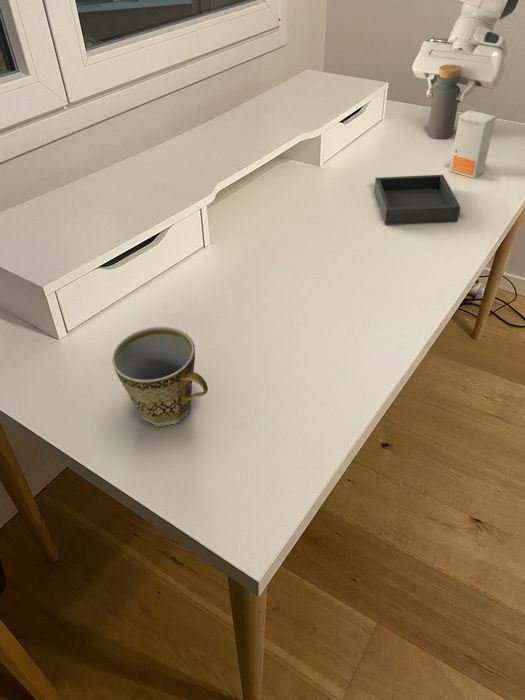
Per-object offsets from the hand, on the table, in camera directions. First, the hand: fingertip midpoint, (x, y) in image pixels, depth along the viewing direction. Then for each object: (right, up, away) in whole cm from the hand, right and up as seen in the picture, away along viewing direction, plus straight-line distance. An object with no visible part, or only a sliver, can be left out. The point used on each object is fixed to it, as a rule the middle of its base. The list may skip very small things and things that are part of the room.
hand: (444, 99), depth 134 cm
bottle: (+1, -6, +6) cm, 9 cm away
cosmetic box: (+2, -20, -9) cm, 22 cm away
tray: (-12, -29, -19) cm, 37 cm away
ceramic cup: (-53, -66, -58) cm, 103 cm away
